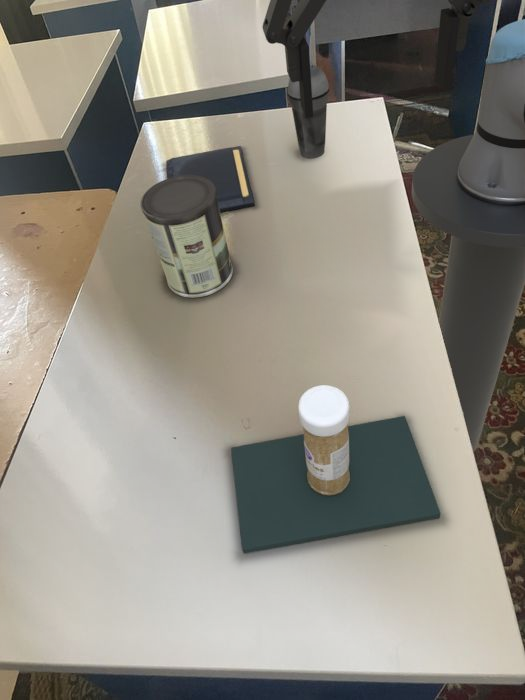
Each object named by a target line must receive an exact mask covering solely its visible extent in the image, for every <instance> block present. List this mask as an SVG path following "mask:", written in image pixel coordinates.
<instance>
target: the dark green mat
mask: <svg viewBox="0 0 525 700" xmlns="http://www.w3.org/2000/svg"><path fill="white" fill-rule="evenodd" d="M348 432H349V472H350V481H349V483H348V485H347V487H346V488H345V489H344V490H343V491H342V492H341V493H338V494H335V495H322V494H320V493H318V492H316V491H314V489H313V488H311V486H310V484H309V482H308V478H307V472H308V468H307V464H306V455H305V446H304V433H303V434H298V435H292V436H288V437H282V438H277V439H271V440H265V441H260V442H254V443H249V444H248V443H247V444H243V445H238V446H233V447H231V448H230V451H231V459H232V469H233V479H234V487H235V496H236V507H237V514H238V523H239V524H238V525H239V532H240V534H239V535H240V542H241V549H242V553H243V554H247V553H248V554H249V553H254V552H260V551H264V550H269V549H275V548H282V547H287V546H292V545H298V544H302V543H309V542H314V541H315V542H316V541H321V540H326V539H330V538H336V537H341V536H348V535H352V534H358V533H364V532H369V531H374V530H381V529H386V528H392V527H397V526H402V525H403V526H404V525H409V524H414V523H418V522H419V523H420V522H424V521H430V520H435V519H440V518H441V515H442V514H441V511H440V508H439V505H438V503H437V500H436V497H435V494H434V491H433V489H432V486H431V483H430V480H429V478H428V476H427V475H428V474H427V472H426V470H425V466H424V464H423V462H422V458H421V456H420V453H419V451H418V448H417V445H416V443H415V440H414V437H413V434H412V432H411V429H410V426H409V423H408V421H407V418H406V416H405V415H402V416H397V417H390V418H386V419H385V418H384V419H380V420H375V421H369V422H364V423H358V424H353V425H348Z"/></svg>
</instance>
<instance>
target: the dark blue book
mask: <svg viewBox="0 0 525 700" xmlns="http://www.w3.org/2000/svg"><path fill="white" fill-rule="evenodd" d="M165 164H166V168H165V169H166V179H168V178H172V177H176V176H182V175H196V176H201V177H204V178H206V179H208V180H210V181H211V182H212V183H213V184H214V186H215V188H216V197H217V202H218V207H219V211H220V213H224V212H229V211H234V210H238V209H244V208H247V207H248V208H249V207H254V206H255V200H254V199H255V198H254V194H253V191H252V187H251V184H250V179H249V174H248V171H247V167H246V163H245V157H244V153H243V150H242V146H241V145H237V146H232V147H225V148H218V149H213V150H209V151H203V152H198V153H191V154H187V155H181V156H176V157H172V158H170V159H167V160H166V163H165Z"/></svg>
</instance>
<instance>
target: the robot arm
mask: <svg viewBox="0 0 525 700" xmlns="http://www.w3.org/2000/svg"><path fill="white" fill-rule="evenodd" d="M326 1H327V0H299V1H298V2H297V4H296V6H295V8H294V9H293V11H292V12H291V14H290V16H289V17H288V20H287V16H288V15H289V10H290V7H291V4H292V2H293V0H269V3H268V7H267V10H266V13H265V17H264V20H263V23H262V31H263V34H264V36H265V40H266V41H267V43H269V44H272V45H273V44H279V45H282V46H284V53H285V65H286V72H287V75H288V77H289V79H290V80H291V81H292V82H297V81H299V88H300V100H301V107H302V110H303V112H304V115H305V117H306V118H309V117H313V103H312V87H311V71H310V55H309V46H310V45H309V43H308V41H307V40H306V37H305V36H306V34H307V32H308V30H309V29H310V27H311V26H312V24H313V23H314V21H315V19H316V18H317V16H318V15H319V13H320V11H321V10H322V8H323V7H324V5H325V3H326ZM447 1H448V3H449V4H450V5H451V6H450V7H451V8H450V7H446V8H442V9H440V17H439V25H438V26H439V27H438V36H437V37H438V38H437V47H436V58H435V69H434V78H433V82H434V83H435V84H436V85H437V87H438V88H439V89H440V90H441V91H442V92H443V93H447V92H451V91H452V85H453V79H454V77H453V76H454V69H455V61H456V53H457V52H459V51H463V50H464V48H465V46H466V44H467V38H468V29H469V23H470V22H469V21H470V18H472V17H474V15H475V14H476V12H477V7H478V6H479V5H481V4H489V3H490V2H491V1H492V0H447ZM286 20H287V21H286ZM285 22H286V23H285ZM484 67H485V68H484V75H483V81H482V89H481V94H480V102H479V108H478V109H479V110H478V115H477V121H476V128H475V132H474V136H473V138H472V140H471V141H470V143H469V145H468V147H467V149H466V151H465V153H464V155H463V157H462V159H461V161H460V163H459V167H458V172H457V181H458V184H459V186H460V187H461V189H462V190H463V191H464V192H466V193H467V194H468V195H470V196H472V197H473V198H475V199H478V200H480V201H483V202H486V203H490V204H496V205H504V206H518V205H525V18H523V19H520V20H516V21H513V22H510V23H508V24H506V25H504V26H503V27H501V28H499V29H498V30H497V31H496V32H495V34H494V35H493V37H492V39H491V41H490V47H489V51H488V56H487V58H486V59H485V66H484Z"/></svg>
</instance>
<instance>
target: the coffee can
mask: <svg viewBox="0 0 525 700" xmlns="http://www.w3.org/2000/svg"><path fill="white" fill-rule="evenodd" d="M140 210H141V211H142V214H143V215H144V217H145V220H146V224H147V226H148V229H149V232H150V235H151V238H152V240H153V243H154V246H155V250H156V253H157V255H158V258H159V261H160V264H161V266H162V270H163V272H164V276H165V279H166V283H167V285H168V287H169V289H170V290H171V292H173V293H174V294H176V295H178V296H181V297H184V298H188V299H189V298H191V299H193V298H194V299H195V298H197V299H198V298H203V297H207V296H210V295H213V294H215V293H218V292H219V291H220V290H222V289H223V288H224V287H225V286H226V285H227V284H228V283H230V281H231V279H232V277H233V273H234V267H233V264H232V260H231V256H230V252H229V247H228V243H227V240H226V239H227V238H226V234H225V230H224V225H223V222H222V217H221V212H220V211H219V207H218V202H217V197H216V188H215V186H214V184H213V183H212V182H211V181H210V180H208V179H206V178H204V177H201V176H196V175H182V176H176V177H172V178H168V179H167V178H166V179H163V180H161V181H159V182H157V183H155V184H154V185H152V186H150V188H148V189H147V190H146V191H145V192H144V194H143V195H142V196H141V199H140Z"/></svg>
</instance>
